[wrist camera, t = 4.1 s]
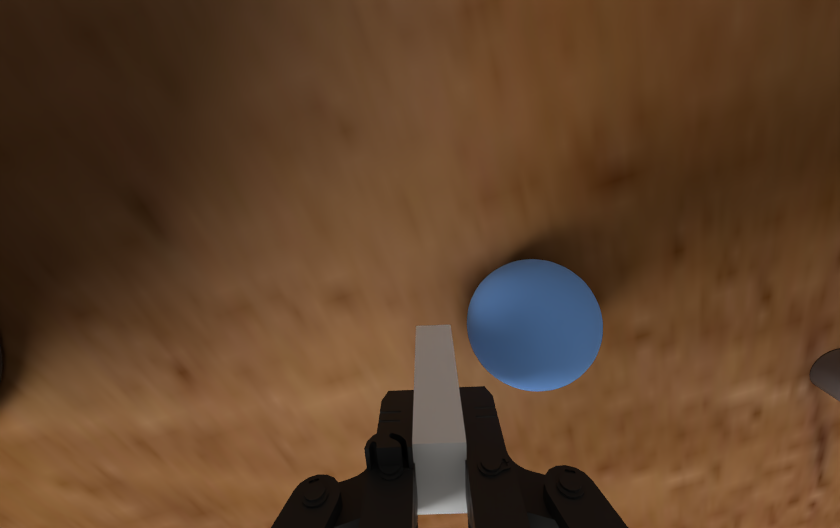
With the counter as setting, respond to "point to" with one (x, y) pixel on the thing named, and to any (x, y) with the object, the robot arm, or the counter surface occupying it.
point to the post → (827, 373)
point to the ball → (534, 325)
